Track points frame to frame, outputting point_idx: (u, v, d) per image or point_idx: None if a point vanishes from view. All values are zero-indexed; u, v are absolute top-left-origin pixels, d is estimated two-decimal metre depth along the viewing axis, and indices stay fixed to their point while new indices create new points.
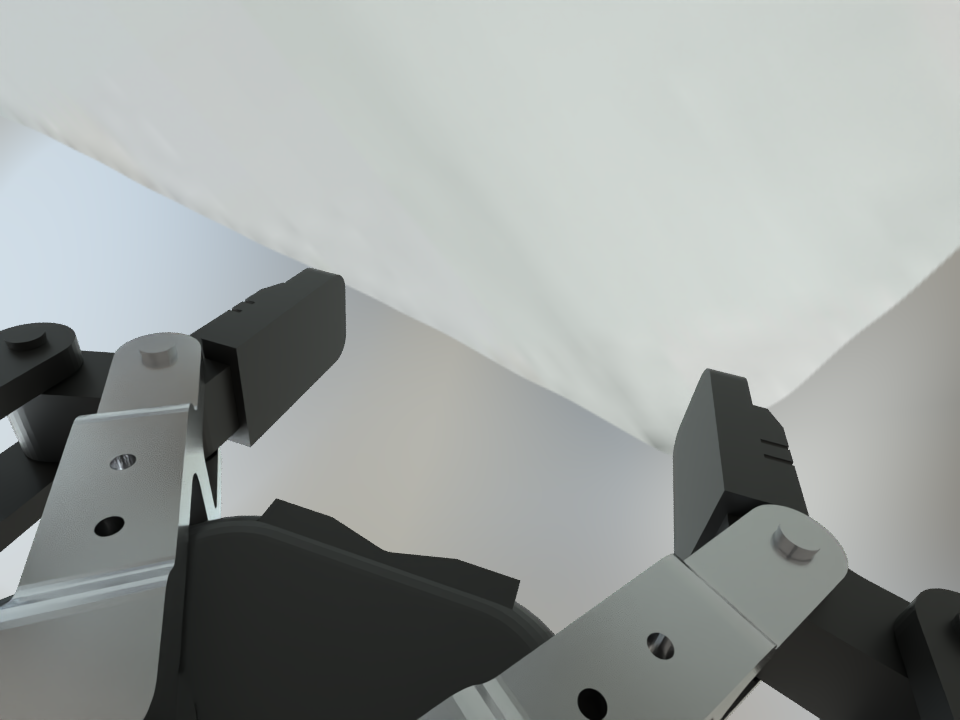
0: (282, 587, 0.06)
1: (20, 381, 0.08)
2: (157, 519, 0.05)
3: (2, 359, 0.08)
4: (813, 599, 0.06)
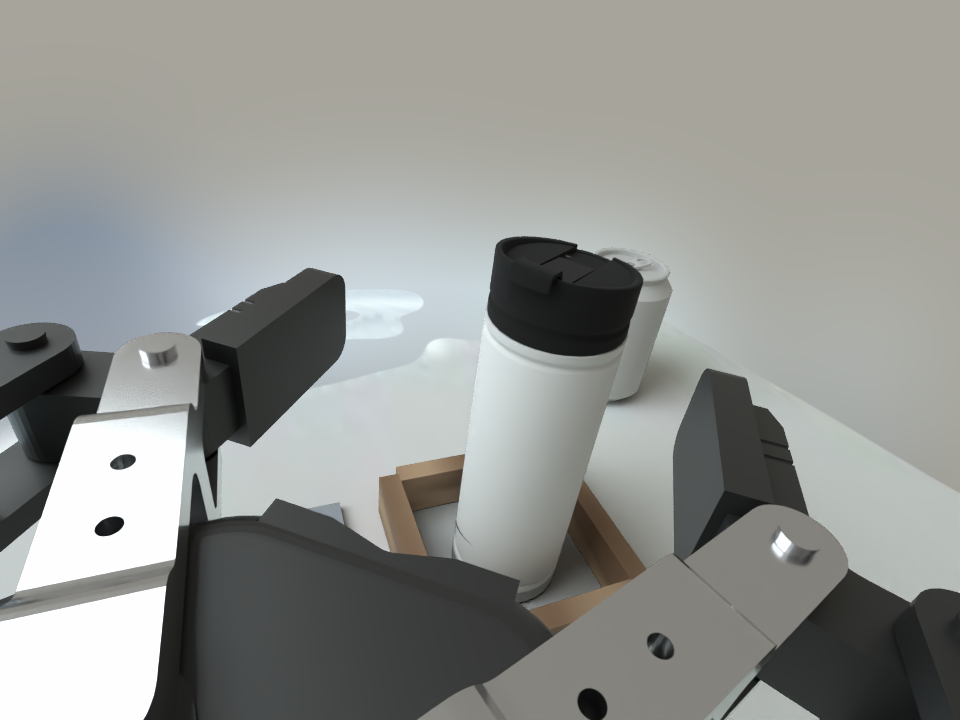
0: (282, 587, 0.06)
1: (20, 382, 0.08)
2: (157, 518, 0.05)
3: (2, 359, 0.08)
4: (813, 599, 0.06)
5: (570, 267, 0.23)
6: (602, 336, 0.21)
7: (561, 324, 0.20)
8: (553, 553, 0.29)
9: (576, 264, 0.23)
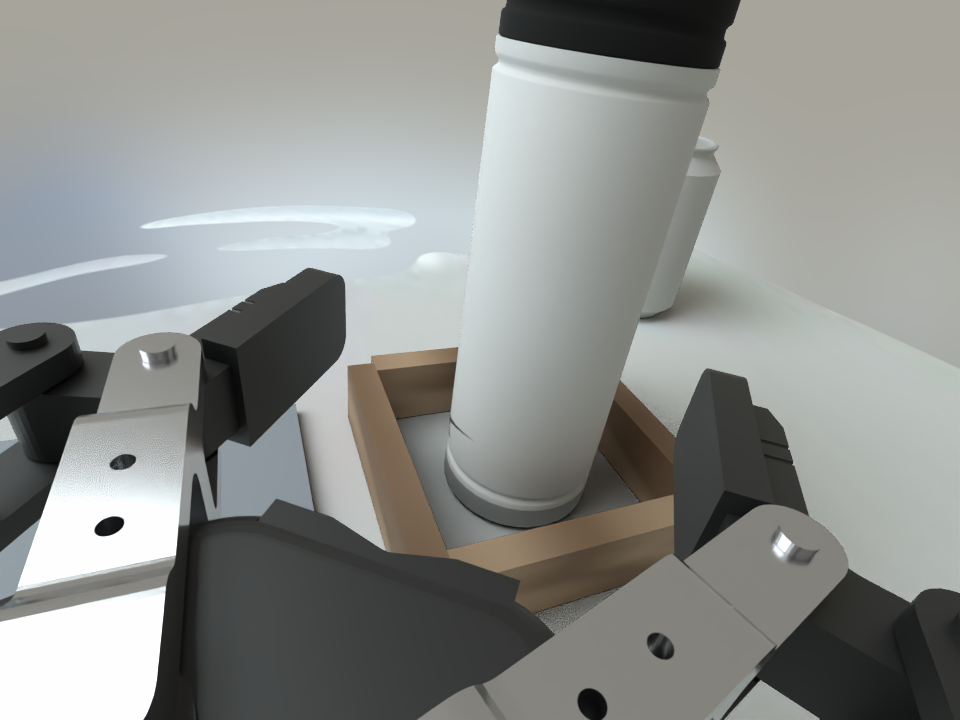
0: (282, 587, 0.06)
1: (19, 382, 0.08)
2: (157, 519, 0.05)
3: (2, 359, 0.08)
4: (813, 599, 0.06)
5: None
6: (691, 29, 0.13)
7: None
8: (587, 452, 0.21)
9: None
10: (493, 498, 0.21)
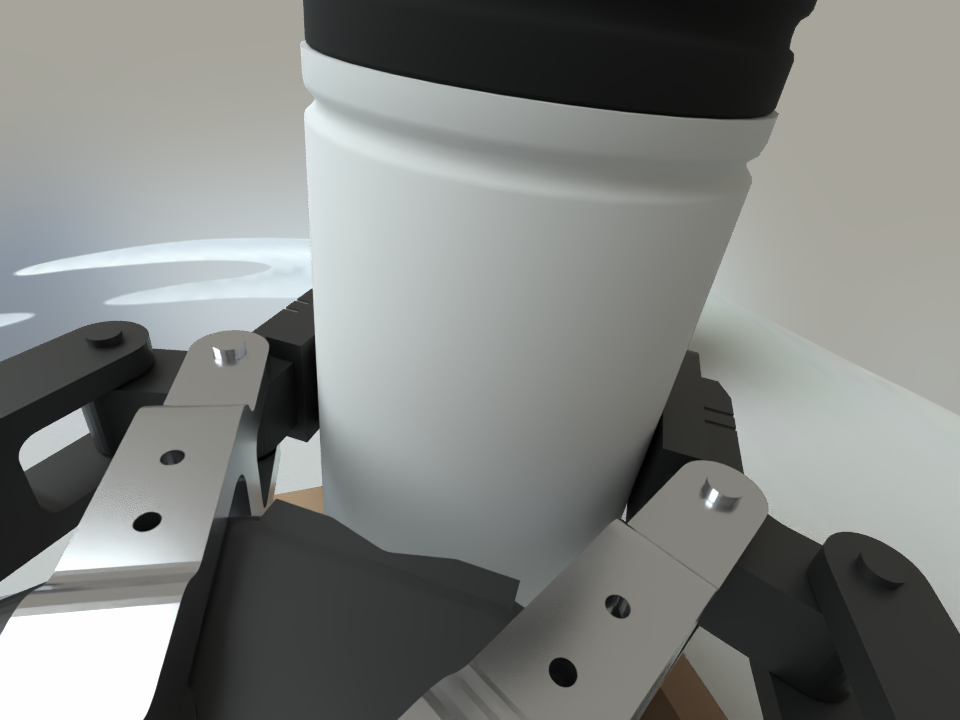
0: (282, 587, 0.06)
1: (89, 379, 0.08)
2: (192, 519, 0.05)
3: (79, 355, 0.08)
4: (730, 539, 0.07)
5: None
6: (723, 25, 0.05)
7: None
8: None
9: None
10: None
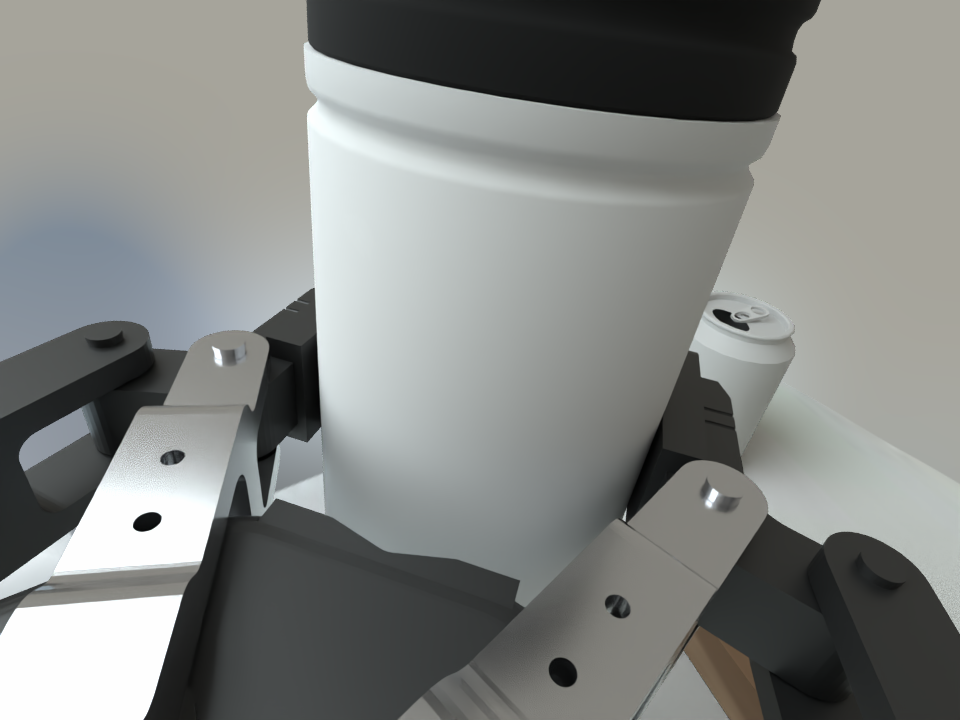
0: (282, 587, 0.06)
1: (89, 379, 0.08)
2: (192, 521, 0.05)
3: (79, 355, 0.08)
4: (730, 538, 0.07)
5: None
6: (727, 28, 0.05)
7: None
8: None
9: None
10: None
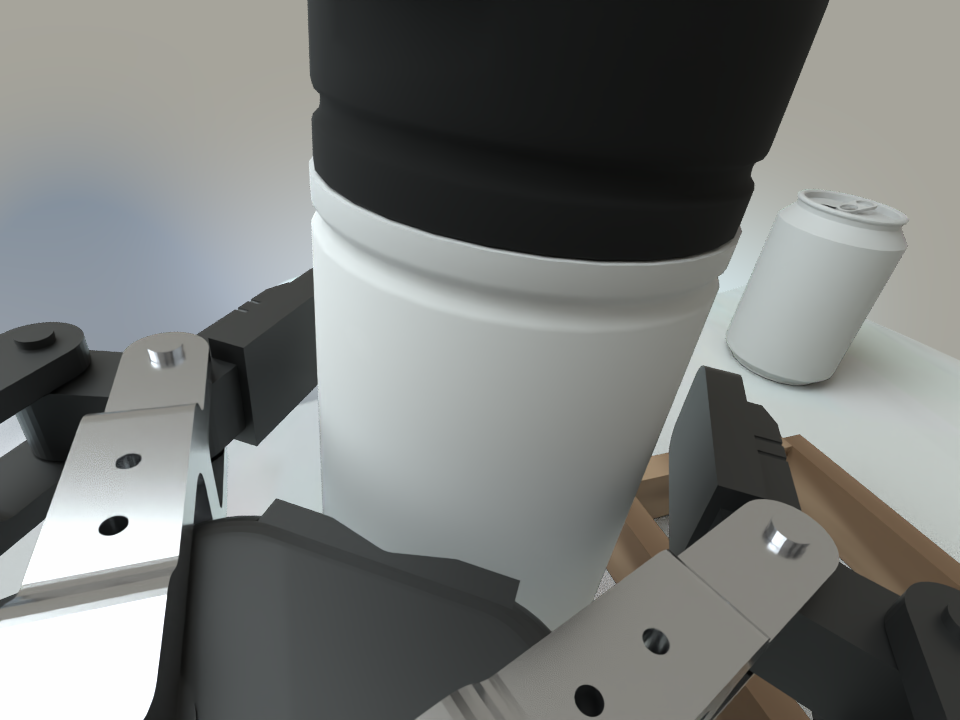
0: (282, 587, 0.06)
1: (28, 381, 0.08)
2: (161, 518, 0.05)
3: (11, 358, 0.08)
4: (804, 591, 0.06)
5: None
6: (684, 187, 0.06)
7: (532, 109, 0.05)
8: None
9: None
10: None
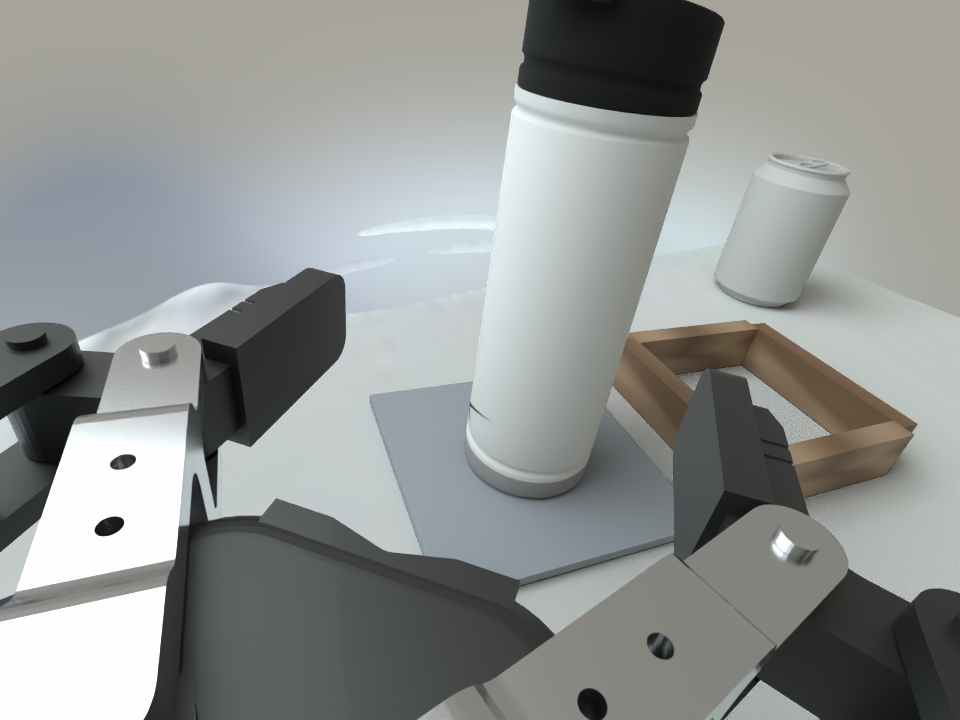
0: (282, 587, 0.06)
1: (20, 382, 0.08)
2: (156, 519, 0.05)
3: (2, 359, 0.08)
4: (813, 599, 0.06)
5: None
6: (673, 88, 0.16)
7: (623, 58, 0.15)
8: (589, 431, 0.24)
9: None
10: (508, 472, 0.25)
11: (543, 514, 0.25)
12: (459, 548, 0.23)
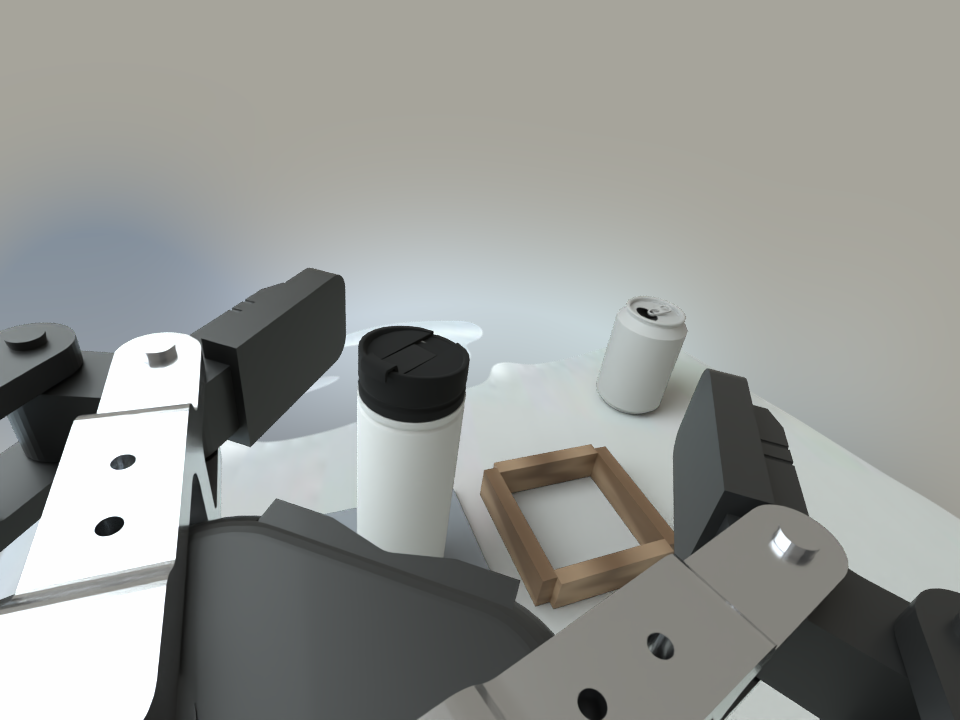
0: (282, 587, 0.06)
1: (20, 381, 0.08)
2: (157, 519, 0.05)
3: (2, 359, 0.08)
4: (813, 599, 0.06)
5: (417, 354, 0.30)
6: (433, 408, 0.29)
7: (399, 401, 0.28)
8: None
9: (423, 351, 0.31)
10: None
11: None
12: None
